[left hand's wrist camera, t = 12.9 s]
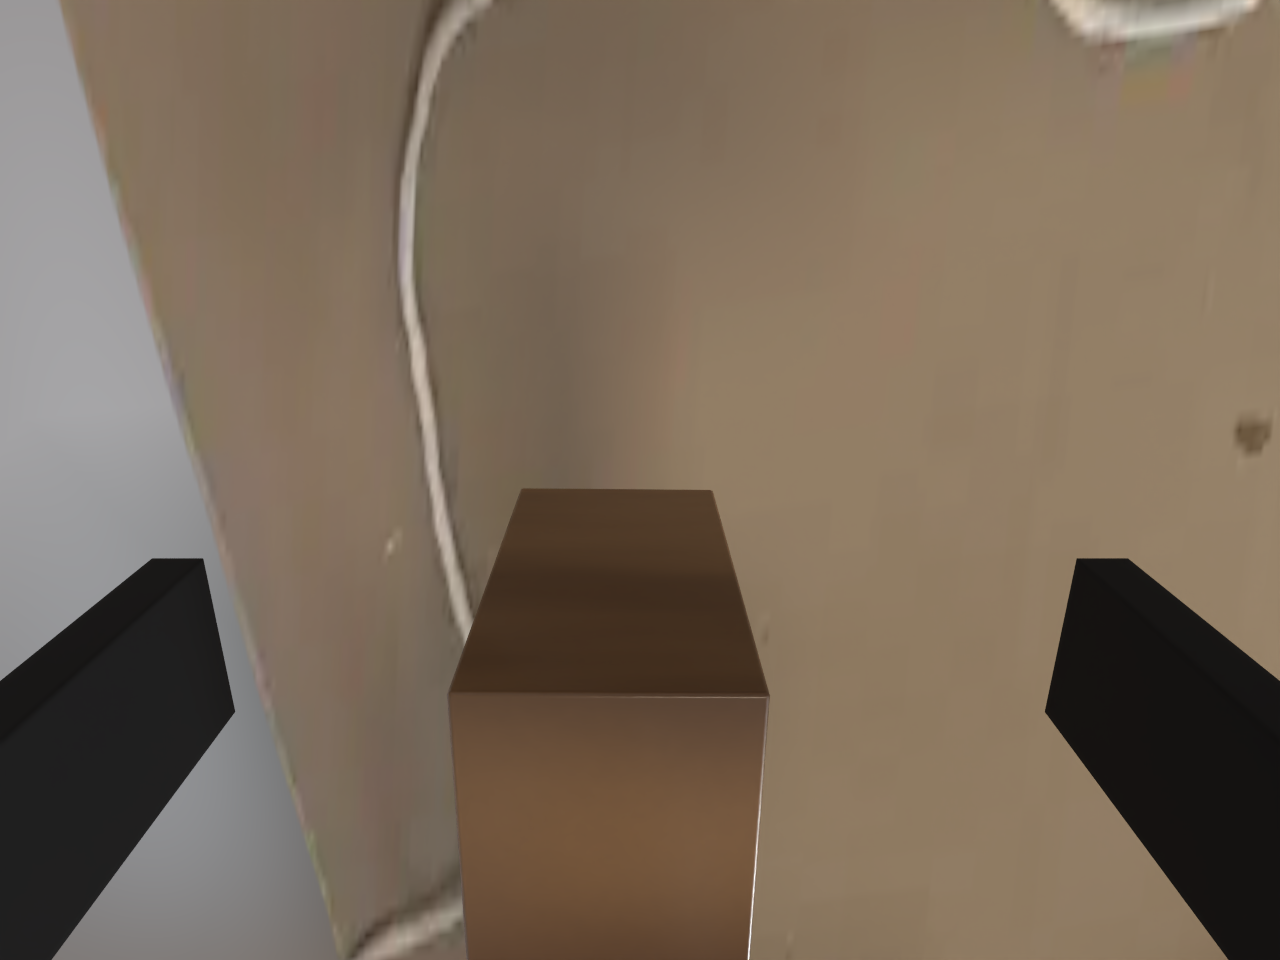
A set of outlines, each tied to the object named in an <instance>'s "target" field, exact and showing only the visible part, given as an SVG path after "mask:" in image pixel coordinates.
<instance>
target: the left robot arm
mask: <svg viewBox="0 0 1280 960" xmlns="http://www.w3.org/2000/svg"><path fill="white" fill-rule="evenodd" d="M234 713H235V709H234V704H233V699H232V695H231V690H230V685H229V680H228V675H227V671H226V666H225V661H224V656H223V651H222V647H221V642H220V637H219V632H218V627H217V623H216V618H215V613H214V608H213V603H212V599H211V594H210V589H209V584H208V580H207V575H206V570H205V565H204V560H203V559H151V560H150V561H148V562H147V563H146V564H145V565H144V566H142V567H141V568H140V569H139V570H137V571H136V572H135V573H134V574H132V575H131V576H130V577H129V578H127V579H126V580H125V581H124V582H122V583H121V584H120V585H119V586H117V587H116V588H115V589H114V590H113V591H111V592H110V593H109V594H108V595H106V596H105V597H104V598H103V599H101V600H100V601H99V602H98V603H96V604H95V605H94V606H93V607H91V608H90V609H89V610H88V611H87V612H85V613H84V614H83V615H82V616H80V617H79V618H78V619H77V620H75V621H74V622H73V623H72V624H70V625H69V626H68V627H67V628H65V629H64V630H63V631H62V632H60V633H59V634H58V635H57V636H56V637H54V638H53V639H52V640H51V641H49V642H48V643H47V644H46V645H44V646H43V647H42V648H41V649H39V650H38V651H37V652H36V653H34V654H33V655H32V656H31V657H29V658H28V659H27V660H26V661H24V662H23V663H22V664H21V665H20V666H18V667H17V668H16V669H15V670H13V671H12V672H11V673H10V674H8V675H7V676H6V677H5V678H3V679H2V680H1V681H0V960H52V958H53V957H54V956H55V954H56V953H57V952H58V950H59V949H60V947H61V946H62V945H63V943H64V942H65V941H66V939H67V938H68V937H69V935H70V934H71V933H72V931H73V930H74V929H75V927H76V926H77V925H78V923H79V922H80V920H81V919H82V918H83V916H84V915H85V914H86V912H87V911H88V910H89V908H90V907H91V906H92V904H93V903H94V902H95V900H96V899H97V898H98V896H99V895H100V893H101V892H102V891H103V889H104V888H105V887H106V885H107V884H108V883H109V881H110V880H111V879H112V877H113V876H114V874H115V873H116V872H117V871H118V869H119V868H120V866H121V865H122V864H123V862H124V861H125V860H126V858H127V857H128V856H129V854H130V853H131V852H132V850H133V849H134V848H135V846H136V845H137V844H138V842H139V841H140V839H141V838H142V837H143V835H144V834H145V833H146V831H147V830H148V829H149V827H150V826H151V825H152V823H153V822H154V821H155V819H156V818H157V817H158V815H159V814H160V812H161V811H162V810H163V808H164V807H165V806H166V804H167V803H168V802H169V800H170V799H171V798H172V796H173V795H174V793H175V792H176V791H177V789H178V788H179V787H180V785H181V784H182V783H183V781H184V780H185V779H186V777H187V776H188V775H189V773H190V772H191V771H192V769H193V768H194V767H195V765H196V764H197V762H198V761H199V760H200V758H201V757H202V756H203V754H204V753H205V752H206V750H207V749H208V748H209V746H210V745H211V744H212V742H213V741H214V740H215V738H216V737H217V735H218V734H219V733H220V731H221V730H222V729H223V727H224V726H225V725H226V723H227V722H228V721H229V719H230V718H231V717H232V715H233V714H234ZM1045 713H1046V714H1047V715H1048V717H1049V718H1050V719H1051V721H1052V722H1053V723H1054V725H1055V726H1056V727H1057V729H1058V730H1059V731H1060V733H1061V734H1062V736H1063V737H1064V738H1065V740H1066V741H1067V742H1068V744H1069V745H1070V746H1071V748H1072V749H1073V750H1074V752H1075V753H1076V754H1077V756H1078V757H1079V758H1080V760H1081V761H1082V763H1083V764H1084V765H1085V767H1086V768H1087V769H1088V771H1089V772H1090V773H1091V775H1092V776H1093V777H1094V779H1095V780H1096V781H1097V783H1098V784H1099V785H1100V787H1101V788H1102V790H1103V791H1104V792H1105V794H1106V795H1107V796H1108V798H1109V799H1110V800H1111V802H1112V803H1113V804H1114V806H1115V807H1116V808H1117V810H1118V811H1119V812H1120V814H1121V815H1122V817H1123V818H1124V819H1125V821H1126V822H1127V823H1128V825H1129V826H1130V827H1131V829H1132V830H1133V831H1134V833H1135V834H1136V835H1137V837H1138V838H1139V839H1140V841H1141V842H1142V844H1143V845H1144V846H1145V848H1146V849H1147V850H1148V852H1149V853H1150V854H1151V856H1152V857H1153V858H1154V860H1155V861H1156V862H1157V864H1158V865H1159V866H1160V868H1161V869H1162V871H1163V872H1164V873H1165V875H1166V876H1167V877H1168V879H1169V880H1170V881H1171V883H1172V884H1173V885H1174V887H1175V888H1176V889H1177V891H1178V892H1179V893H1180V895H1181V896H1182V898H1183V899H1184V900H1185V902H1186V903H1187V904H1188V906H1189V907H1190V908H1191V910H1192V911H1193V912H1194V914H1195V915H1196V916H1197V918H1198V919H1199V920H1200V922H1201V923H1202V925H1203V926H1204V927H1205V929H1206V930H1207V931H1208V933H1209V934H1210V935H1211V937H1212V938H1213V939H1214V941H1215V942H1216V943H1217V945H1218V946H1219V947H1220V949H1221V950H1222V952H1223V953H1224V954H1225V956H1226V957H1227V958H1228V960H1280V681H1279V680H1278V679H1277V678H1275V677H1274V676H1273V675H1272V674H1270V673H1269V672H1268V671H1267V670H1265V669H1264V668H1263V667H1262V666H1260V665H1259V664H1258V663H1257V662H1256V661H1254V660H1253V659H1252V658H1251V657H1249V656H1248V655H1247V654H1246V653H1244V652H1243V651H1242V650H1241V649H1239V648H1238V647H1237V646H1236V645H1234V644H1233V643H1232V642H1231V641H1229V640H1228V639H1227V638H1226V637H1225V636H1223V635H1222V634H1221V633H1220V632H1218V631H1217V630H1216V629H1215V628H1213V627H1212V626H1211V625H1210V624H1208V623H1207V622H1206V621H1205V620H1203V619H1202V618H1201V617H1200V616H1198V615H1197V614H1196V613H1195V612H1194V611H1192V610H1191V609H1190V608H1189V607H1187V606H1186V605H1185V604H1184V603H1182V602H1181V601H1180V600H1179V599H1177V598H1176V597H1175V596H1174V595H1172V594H1171V593H1170V592H1169V591H1167V590H1166V589H1165V588H1164V587H1163V586H1161V585H1160V584H1159V583H1158V582H1156V581H1155V580H1154V579H1153V578H1151V577H1150V576H1149V575H1148V574H1146V573H1145V572H1144V571H1143V570H1141V569H1140V568H1139V567H1138V566H1136V565H1135V564H1134V563H1133V562H1132V561H1130V560H1129V559H1077V560H1076V565H1075V570H1074V575H1073V579H1072V584H1071V589H1070V594H1069V599H1068V603H1067V608H1066V613H1065V618H1064V623H1063V627H1062V632H1061V637H1060V642H1059V647H1058V651H1057V656H1056V661H1055V666H1054V671H1053V675H1052V680H1051V685H1050V690H1049V695H1048V699H1047V704H1046V709H1045Z"/></svg>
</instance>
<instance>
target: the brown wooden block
mask: <svg viewBox="0 0 1280 960" xmlns="http://www.w3.org/2000/svg"><path fill="white" fill-rule="evenodd" d="M447 696H448V710H449V724H450V737H451V751H452V765H453V778H454V792H455V805H456V819H457V833H458V846H459V860H460V874H461V887H462V901H463V915H464V928H465V942H466V955H467V960H750V947H751V934H752V921H753V908H754V895H755V882H756V869H757V856H758V843H759V830H760V816H761V803H762V790H763V777H764V764H765V751H766V738H767V725H768V712H769V699H770V695H769V691H768V688H767V684H766V680H765V677H764V673H763V670H762V666H761V663H760V659H759V655H758V652H757V648H756V645H755V641H754V637H753V634H752V630H751V627H750V623H749V620H748V616H747V612H746V609H745V605H744V602H743V598H742V595H741V591H740V587H739V584H738V580H737V577H736V573H735V569H734V566H733V562H732V559H731V555H730V552H729V548H728V544H727V541H726V537H725V534H724V530H723V526H722V523H721V519H720V516H719V512H718V509H717V505H716V501H715V498H714V494H713V491H711V490H637V489H521V491H520V494H519V497H518V499H517V502H516V505H515V508H514V510H513V513H512V516H511V519H510V522H509V524H508V527H507V530H506V533H505V535H504V538H503V541H502V544H501V547H500V549H499V552H498V555H497V558H496V560H495V563H494V566H493V569H492V572H491V574H490V577H489V580H488V583H487V585H486V588H485V591H484V594H483V597H482V599H481V602H480V605H479V608H478V610H477V613H476V616H475V619H474V622H473V624H472V627H471V630H470V633H469V635H468V638H467V641H466V644H465V646H464V649H463V652H462V655H461V658H460V660H459V663H458V666H457V669H456V671H455V674H454V677H453V680H452V683H451V685H450V688H449V691H448V694H447Z"/></svg>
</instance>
